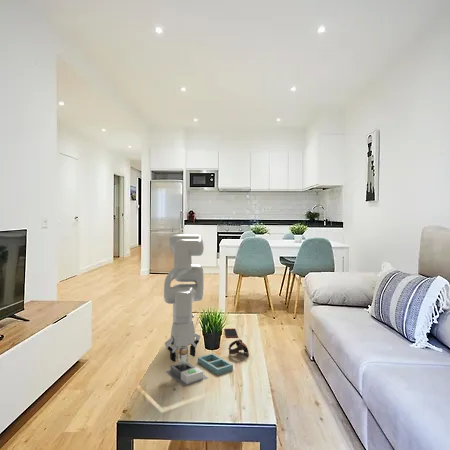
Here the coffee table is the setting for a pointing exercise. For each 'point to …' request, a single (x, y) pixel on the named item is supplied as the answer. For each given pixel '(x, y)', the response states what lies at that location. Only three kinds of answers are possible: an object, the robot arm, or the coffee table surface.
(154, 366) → the coffee table surface
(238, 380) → the coffee table surface
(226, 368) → the teal rectangular open box
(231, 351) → the brown arched frame
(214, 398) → the coffee table surface
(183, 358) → the test cell
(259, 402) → the coffee table surface
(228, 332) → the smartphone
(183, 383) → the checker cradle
